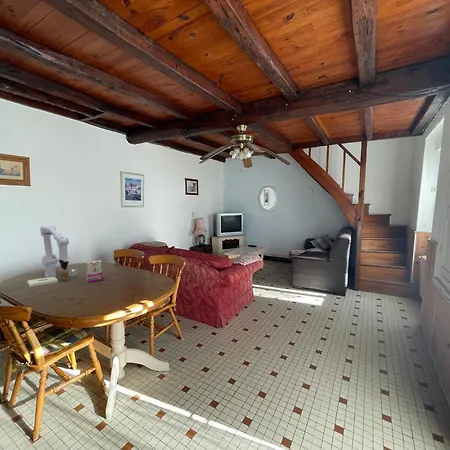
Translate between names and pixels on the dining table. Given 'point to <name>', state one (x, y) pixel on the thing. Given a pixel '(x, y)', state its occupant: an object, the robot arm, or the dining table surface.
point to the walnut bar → (64, 276)
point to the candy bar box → (94, 271)
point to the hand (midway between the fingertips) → (63, 268)
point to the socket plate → (42, 281)
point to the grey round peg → (72, 272)
